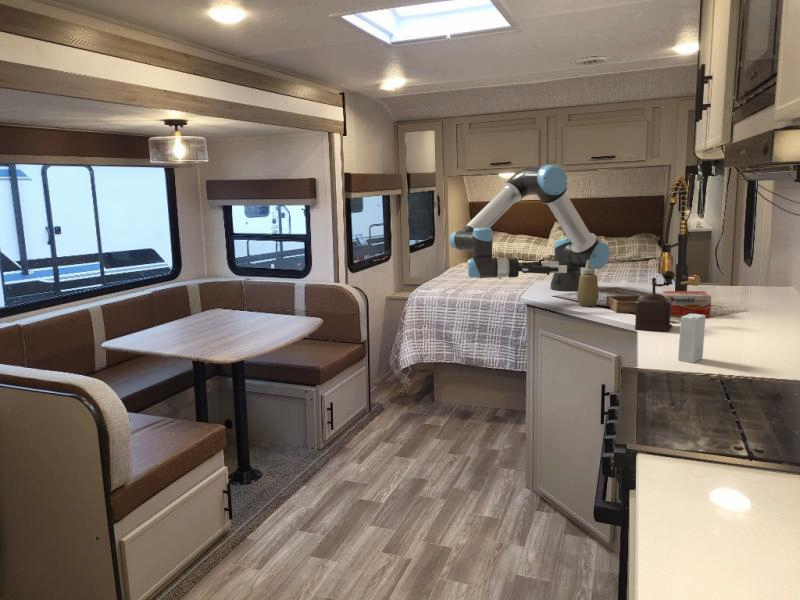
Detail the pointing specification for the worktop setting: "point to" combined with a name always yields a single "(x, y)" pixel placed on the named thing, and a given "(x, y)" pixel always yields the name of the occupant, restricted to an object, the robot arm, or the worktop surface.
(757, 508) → the worktop surface
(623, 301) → the walnut well
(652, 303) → the manual coffee grinder
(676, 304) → the medicine box
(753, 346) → the worktop surface
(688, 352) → the skincare box
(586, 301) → the squeeze bottle
